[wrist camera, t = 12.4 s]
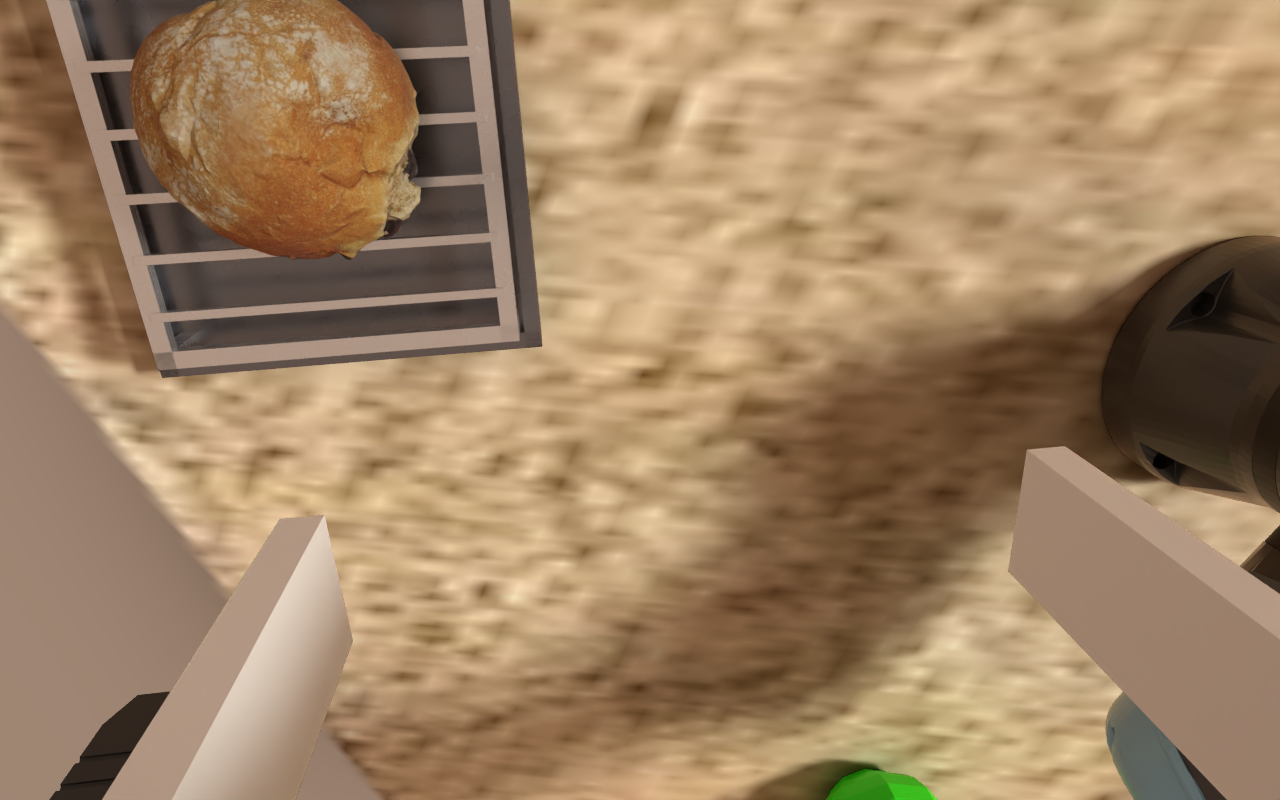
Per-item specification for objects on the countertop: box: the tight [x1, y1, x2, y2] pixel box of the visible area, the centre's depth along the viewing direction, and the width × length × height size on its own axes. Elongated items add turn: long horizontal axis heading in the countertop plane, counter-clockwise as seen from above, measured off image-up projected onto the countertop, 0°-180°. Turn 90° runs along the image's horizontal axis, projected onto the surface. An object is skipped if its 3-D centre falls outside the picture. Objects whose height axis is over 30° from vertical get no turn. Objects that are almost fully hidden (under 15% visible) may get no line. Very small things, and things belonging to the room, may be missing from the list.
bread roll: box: [130, 0, 421, 261], centre depth 29 cm, size 10×10×8 cm
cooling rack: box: [46, 0, 542, 378], centre depth 33 cm, size 18×22×4 cm
